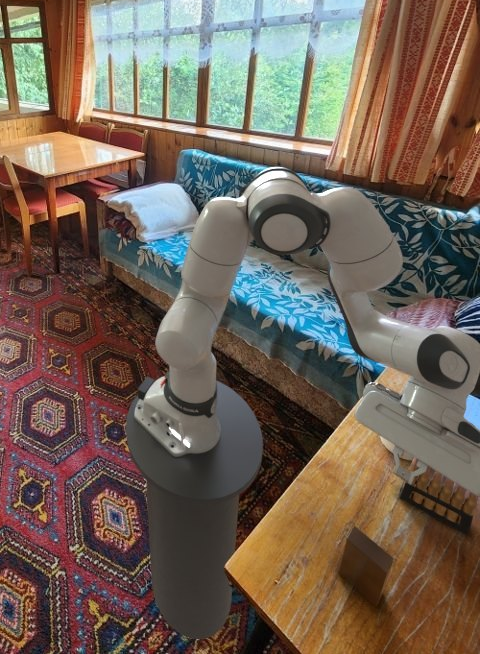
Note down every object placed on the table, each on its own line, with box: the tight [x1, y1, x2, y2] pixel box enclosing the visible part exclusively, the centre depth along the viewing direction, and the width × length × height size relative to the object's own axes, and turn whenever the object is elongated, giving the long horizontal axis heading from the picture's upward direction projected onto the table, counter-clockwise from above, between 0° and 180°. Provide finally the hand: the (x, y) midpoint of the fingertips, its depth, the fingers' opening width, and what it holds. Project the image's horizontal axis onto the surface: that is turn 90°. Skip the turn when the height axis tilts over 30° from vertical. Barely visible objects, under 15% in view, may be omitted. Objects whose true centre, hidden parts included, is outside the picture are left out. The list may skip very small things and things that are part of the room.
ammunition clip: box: [398, 458, 479, 535], centre depth 72 cm, size 11×2×12 cm, turn 51°
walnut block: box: [338, 525, 394, 608], centre depth 63 cm, size 6×3×10 cm, turn 38°
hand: (401, 479), depth 68 cm, fingers closed
